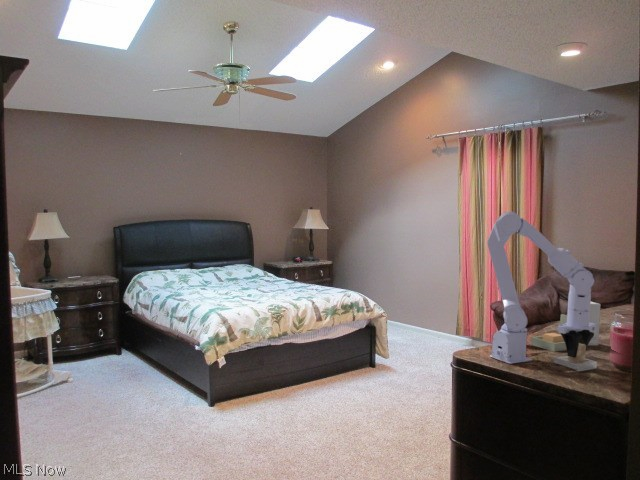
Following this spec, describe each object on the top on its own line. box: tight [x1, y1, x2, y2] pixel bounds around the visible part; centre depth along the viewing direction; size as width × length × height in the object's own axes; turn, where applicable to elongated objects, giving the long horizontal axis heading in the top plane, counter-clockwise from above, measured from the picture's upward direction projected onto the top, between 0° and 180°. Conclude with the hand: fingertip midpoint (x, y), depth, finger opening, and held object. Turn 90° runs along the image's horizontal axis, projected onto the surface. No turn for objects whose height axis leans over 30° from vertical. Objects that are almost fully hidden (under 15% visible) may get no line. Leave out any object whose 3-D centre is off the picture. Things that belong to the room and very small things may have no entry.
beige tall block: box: [569, 343, 587, 363], centre depth 143 cm, size 3×3×6 cm
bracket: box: [553, 355, 598, 372], centre depth 143 cm, size 8×8×5 cm
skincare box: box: [588, 301, 601, 346], centre depth 170 cm, size 8×6×15 cm
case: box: [530, 313, 567, 353], centre depth 165 cm, size 15×9×10 cm, turn 117°
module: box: [542, 332, 563, 343], centre depth 164 cm, size 5×4×4 cm
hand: (575, 356), depth 143 cm, fingers closed on beige tall block, 3 cm apart
